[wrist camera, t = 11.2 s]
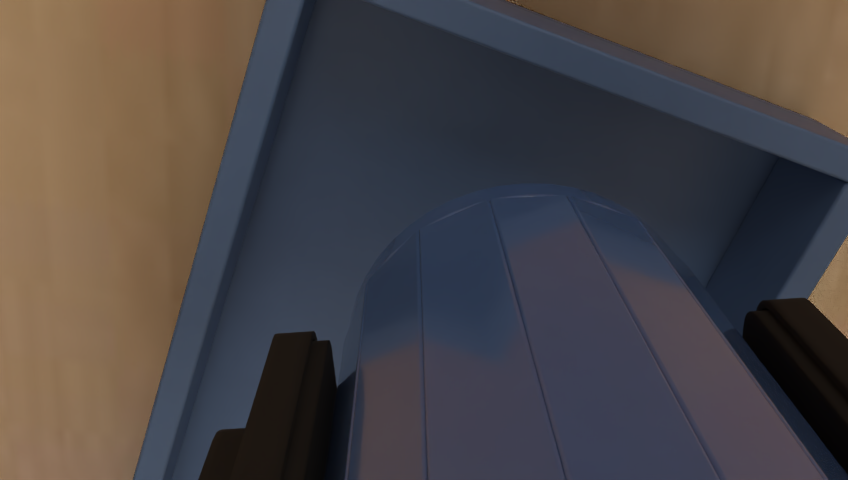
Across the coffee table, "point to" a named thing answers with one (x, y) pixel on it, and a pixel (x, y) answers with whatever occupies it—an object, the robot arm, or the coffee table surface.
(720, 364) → the blue cup
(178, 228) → the coffee table surface
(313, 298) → the blue tray
